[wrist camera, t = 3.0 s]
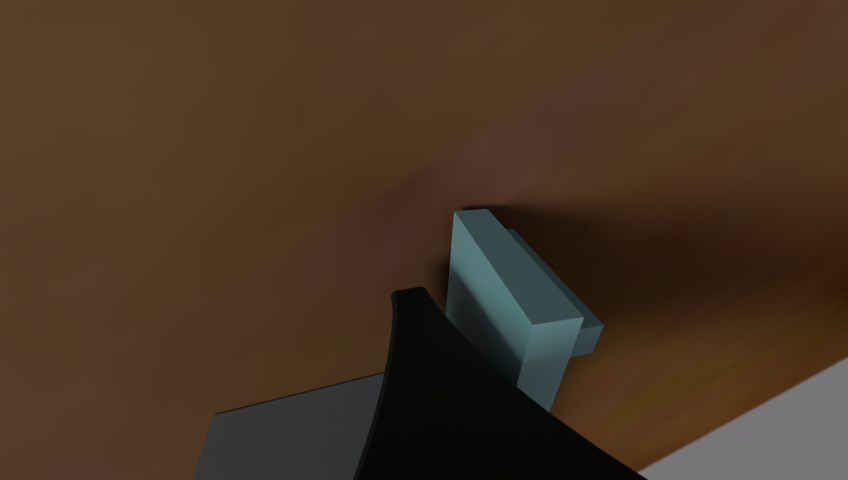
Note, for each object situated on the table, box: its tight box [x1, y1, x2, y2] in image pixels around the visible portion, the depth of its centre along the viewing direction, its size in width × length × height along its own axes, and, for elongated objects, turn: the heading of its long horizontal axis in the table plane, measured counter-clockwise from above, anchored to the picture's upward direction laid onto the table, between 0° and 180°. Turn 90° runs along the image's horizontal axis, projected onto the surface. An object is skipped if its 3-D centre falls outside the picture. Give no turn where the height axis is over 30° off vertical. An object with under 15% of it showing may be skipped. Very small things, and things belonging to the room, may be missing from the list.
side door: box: [446, 209, 604, 413], centre depth 12 cm, size 16×2×5 cm, turn 179°
